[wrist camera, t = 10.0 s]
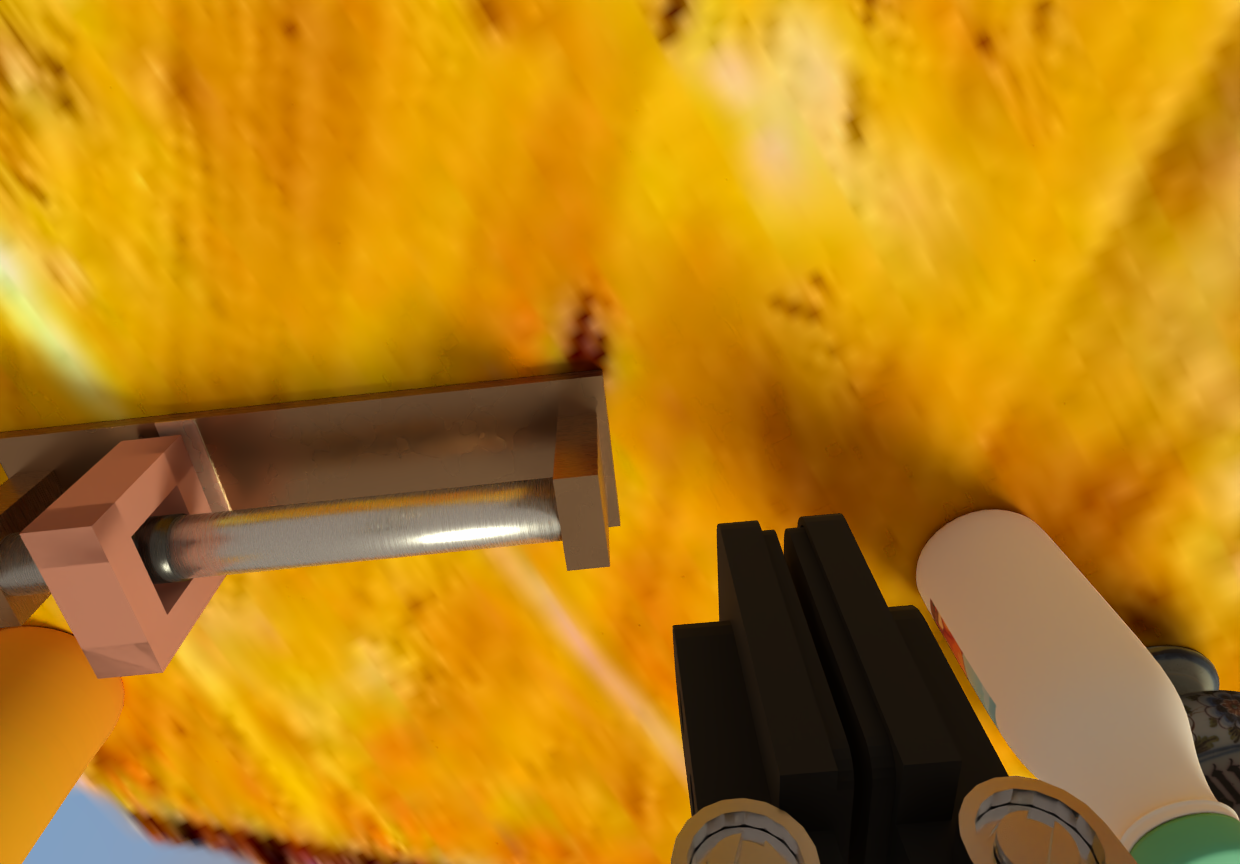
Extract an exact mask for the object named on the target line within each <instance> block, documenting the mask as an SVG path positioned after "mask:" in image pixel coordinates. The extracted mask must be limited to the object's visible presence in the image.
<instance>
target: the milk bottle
mask: <svg viewBox="0 0 1240 864" xmlns="http://www.w3.org/2000/svg"><path fill="white" fill-rule="evenodd" d="M916 583H917V587H918V590H919V593H920V595H921V597H922V599H923V601H924V603H925V605H926V607H927V608H928V610H929V612H930V614H931V615H932V617H933V619H934V621H935V622H936V624H937V626H938V628H939V629H940V631H941V633H942V635H943V636H944V638H945V640H946V642H947V643H948V645H949V647H950V649H951V650H952V652H953V654H954V656H955V657H956V659H957V661H958V663H959V664H960V666H961V668H962V670H963V671H964V673H965V675H966V676H967V678H968V680H969V681H970V683H971V685H972V687H973V688H974V690H975V692H976V693H977V695H978V697H979V699H980V700H981V702H982V704H983V705H984V707H985V709H986V710H987V712H988V714H989V715H990V717H991V719H992V720H993V722H994V723H995V725H996V727H997V728H998V730H999V731H1000V733H1001V734H1002V736H1003V738H1004V739H1005V741H1006V742H1007V744H1008V745H1009V747H1010V748H1011V749H1012V750H1013V752H1014V753H1015V754H1016V756H1017V757H1018V758H1019V759H1020V761H1021V762H1022V763H1023V764H1024V765H1025V766H1026V767H1027V768H1028V769H1029V771H1030V772H1031V773H1032V774H1033V775H1035V776H1036V777H1037V778H1038V779H1039V780H1041V781H1044V782H1046V783H1049V784H1051V785H1054V786H1056V787H1059V788H1061V789H1063V790H1065V791H1067V792H1068V793H1070V794H1072V795H1073V796H1075V797H1076V798H1078V799H1079V800H1081V801H1082V802H1084V803H1085V804H1087V805H1088V806H1089V807H1090V808H1091V809H1092V810H1093V811H1094V812H1095V813H1096V814H1097V815H1098V816H1099V817H1100V818H1101V819H1102V820H1103V821H1104V822H1105V823H1106V824H1107V825H1108V827H1109V828H1110V829H1111V830H1112V832H1113V833H1114V834H1115V835H1116V837H1117V838H1118V839H1119V840H1120V842H1121V843H1122V844H1123V845H1124V847H1125V848H1126V849H1127V850H1128V852H1129V853H1130V854H1131V855H1132V857H1133V858H1134V859H1135V860H1136V862H1137V863H1138V864H1240V821H1239V818H1238V815H1237V814H1236V812H1235V811H1234V810H1233V809H1232V808H1230V807H1229V806H1227V805H1226V804H1223V803H1221V802H1218V801H1217V800H1216V798H1215V797H1214V795H1213V793H1212V792H1211V790H1210V788H1209V786H1208V784H1207V781H1206V779H1205V777H1204V774H1203V772H1202V769H1201V767H1200V764H1199V761H1198V757H1197V754H1196V750H1195V746H1194V741H1193V736H1192V732H1191V728H1190V724H1189V720H1188V717H1187V714H1186V711H1185V709H1184V706H1183V703H1182V701H1181V699H1180V697H1179V695H1178V693H1177V691H1176V689H1175V687H1174V685H1173V684H1172V682H1171V681H1170V679H1169V678H1168V676H1167V675H1166V673H1165V672H1164V670H1163V669H1162V667H1161V666H1160V665H1159V663H1158V662H1157V661H1156V660H1155V658H1154V657H1153V656H1152V655H1151V653H1150V652H1149V651H1148V650H1147V648H1146V647H1145V646H1144V645H1143V643H1142V642H1141V641H1140V640H1139V638H1138V637H1137V636H1136V635H1135V634H1134V633H1133V632H1132V630H1131V629H1130V628H1129V627H1128V626H1127V625H1126V623H1125V622H1124V621H1123V620H1122V619H1121V618H1120V617H1119V615H1118V614H1117V613H1116V612H1115V611H1114V610H1113V608H1112V607H1111V606H1110V605H1109V604H1108V603H1107V601H1106V600H1105V599H1104V598H1103V597H1102V596H1101V595H1100V593H1099V592H1098V591H1097V590H1096V589H1095V588H1094V587H1093V586H1092V584H1091V583H1090V582H1089V581H1088V580H1087V579H1086V578H1085V576H1084V575H1083V574H1082V573H1081V572H1080V571H1079V570H1078V569H1077V567H1076V566H1075V565H1074V564H1073V563H1072V562H1071V561H1070V559H1069V558H1068V557H1067V556H1066V555H1065V554H1064V553H1063V552H1062V550H1061V549H1060V548H1059V547H1058V546H1057V545H1056V544H1055V543H1054V541H1053V540H1052V539H1051V538H1050V537H1049V536H1048V535H1047V534H1046V533H1045V532H1044V531H1043V530H1042V529H1041V528H1040V526H1039V525H1037V524H1036V523H1035V522H1034V521H1033V520H1031V519H1030V518H1028V517H1026V516H1023V515H1021V514H1018V513H1015V512H1011V511H1007V510H999V509H992V510H981V511H976V512H971V513H968V514H966V515H963V516H960V517H958V518H956V519H954V520H953V521H951V522H949V523H947V524H946V525H945V526H943V527H942V528H941V529H939V530H938V531H937V532H936V533H935V534H934V535H933V536H932V537H931V538H930V539H929V540H928V542H927V543H926V545H925V546H924V548H923V549H922V551H921V554H920V557H919V559H918V563H917V569H916Z"/></svg>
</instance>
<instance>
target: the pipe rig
mask: <svg viewBox="0 0 1240 864" xmlns="http://www.w3.org/2000/svg"><path fill="white" fill-rule="evenodd" d="M174 435H181V436H182V439H183V441H184V444H185V446H186V449H187V451H188V454H189V456H190V459H191V461H192V464H193V466H194V469H195V471H196V474H197V476H198V479H199V481H200V484H201V486H202V489H203V491H204V494H205V496H206V499H207V501H208V504H209V506H210V509H211V511H212V512H210V513H201V514H191V515H187V514H184V513H180V514H170V515H161V516H151V517H148V518H147V519H146V521H145V522H144V523H143V524H142V525H141V526H140V527H139V529H138V530H137V531H136V532H135V533H134V534H133V535H132V536H131V538H132V540H133V542H134V544H135V547H136V549H137V551H138V553H139V555H140V557H141V560H142V562H143V564H144V566H145V568H146V570H147V572H148V575H149V577H150V579H151V581H152V583H153V584H162V583H172V582H182V581H188V580H190V579H191V578H200V577H210V576H220V575H230V574H239V573H249V572H259V571H269V570H279V569H289V568H299V567H308V566H318V565H328V564H338V563H348V562H358V561H367V560H377V559H387V558H397V557H407V556H417V555H426V554H436V553H446V552H456V551H466V550H476V549H486V548H495V547H505V546H515V545H525V544H535V543H545V542H554V541H563V547H564V553H565V559H566V565H567V571H570V570H580V569H589V568H599V567H609V566H610V556H609V528H608V527H613V526H620V515H619V507H618V499H617V490H616V482H615V473H614V465H613V457H612V448H611V440H610V431H609V423H608V414H607V406H606V398H605V389H604V381H603V372H602V369H600V370H591V371H581V372H572V373H562V374H553V375H543V376H534V377H524V378H515V379H505V380H496V381H486V382H477V383H467V384H458V385H448V386H438V387H429V388H419V389H410V390H400V391H391V392H381V393H372V394H362V395H353V396H343V397H334V398H324V399H315V400H305V401H296V402H286V403H277V404H267V405H257V406H248V407H238V408H229V409H219V410H210V411H200V412H191V413H181V414H172V415H162V416H153V417H143V418H134V419H124V420H115V421H105V422H96V423H86V424H76V425H67V426H57V427H48V428H38V429H29V430H19V431H10V432H0V463H1V465H2V467H3V469H4V470H5V472H6V474H7V476H8V478H9V479H8V480H7V481H6V482H4V483H3V484H2V485H1V486H0V628H5V627H15V626H22V625H23V624H24V623H25V622H26V620H27V619H28V618H29V617H30V616H31V615H32V614H33V613H34V612H35V611H36V610H37V609H38V608H39V607H40V605H41V604H42V603H43V602H44V601H45V600H46V599H47V598H48V597H49V596H50V595H51V592H50V590H49V588H48V586H47V584H46V582H45V581H44V579H43V577H42V575H41V573H40V571H39V570H38V568H37V566H36V564H35V562H34V560H33V558H32V557H31V555H30V553H29V551H28V549H27V547H26V546H25V544H24V542H23V540H22V538H21V536H20V535H19V533H20V532H21V531H23V530H24V529H25V528H26V527H27V526H28V525H29V524H30V523H31V522H33V521H34V520H35V519H36V518H37V517H38V516H39V515H40V514H41V513H42V512H44V511H45V510H46V509H47V508H48V507H49V506H50V505H51V504H52V503H53V502H55V501H56V500H57V499H58V498H59V497H60V496H61V495H62V494H63V493H64V492H66V491H67V490H68V489H69V488H70V487H71V486H72V485H73V484H74V483H76V482H77V481H78V480H79V479H80V478H81V477H82V476H83V475H84V474H85V473H87V472H88V471H89V470H90V469H91V468H92V467H93V466H94V465H95V464H96V463H98V462H99V461H100V460H101V459H102V458H103V457H104V456H105V455H106V454H107V453H109V452H110V451H111V450H112V449H113V448H114V447H115V446H116V445H117V444H119V443H120V442H121V441H127V440H136V439H146V438H155V437H165V436H174Z"/></svg>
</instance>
